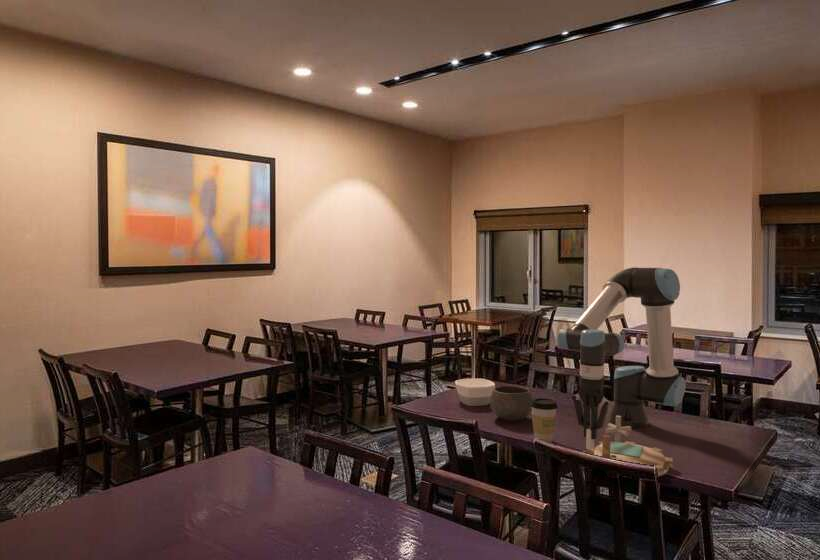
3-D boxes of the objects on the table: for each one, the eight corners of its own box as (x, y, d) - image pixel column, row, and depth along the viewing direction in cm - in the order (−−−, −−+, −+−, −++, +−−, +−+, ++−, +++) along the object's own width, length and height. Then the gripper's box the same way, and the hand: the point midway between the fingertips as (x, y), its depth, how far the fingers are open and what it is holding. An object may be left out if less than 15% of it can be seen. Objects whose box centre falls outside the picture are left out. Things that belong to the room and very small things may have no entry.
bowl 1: (449, 399, 265) (449, 379, 265) (484, 396, 270) (484, 377, 270) (464, 409, 248) (464, 388, 248) (500, 406, 253) (501, 385, 253)
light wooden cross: (614, 449, 198) (615, 421, 198) (597, 440, 208) (598, 413, 208) (638, 446, 201) (639, 419, 201) (621, 437, 211) (621, 411, 210)
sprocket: (630, 442, 202) (630, 417, 201) (691, 468, 178) (691, 440, 177) (571, 451, 192) (571, 426, 191) (627, 480, 168) (627, 451, 167)
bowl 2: (480, 418, 235) (481, 388, 234) (508, 410, 247) (508, 381, 246) (515, 428, 221) (515, 396, 221) (541, 419, 233) (542, 389, 233)
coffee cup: (557, 446, 201) (558, 405, 200) (529, 444, 203) (530, 403, 202) (556, 437, 210) (557, 398, 210) (529, 435, 212) (530, 396, 212)
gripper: (567, 375, 185) (566, 446, 186) (606, 382, 176) (604, 455, 177) (578, 372, 191) (576, 440, 192) (615, 378, 182) (614, 449, 183)
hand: (589, 447), depth 185 cm, fingers closed
